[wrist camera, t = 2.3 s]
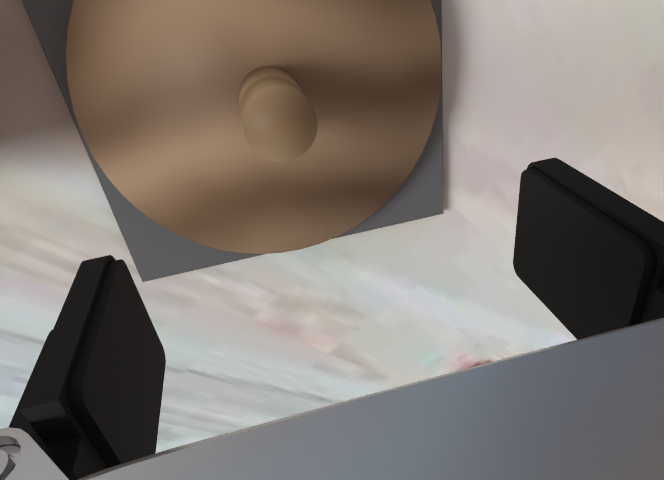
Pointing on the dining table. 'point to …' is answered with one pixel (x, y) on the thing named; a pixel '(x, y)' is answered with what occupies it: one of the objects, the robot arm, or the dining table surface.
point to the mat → (185, 255)
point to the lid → (255, 111)
